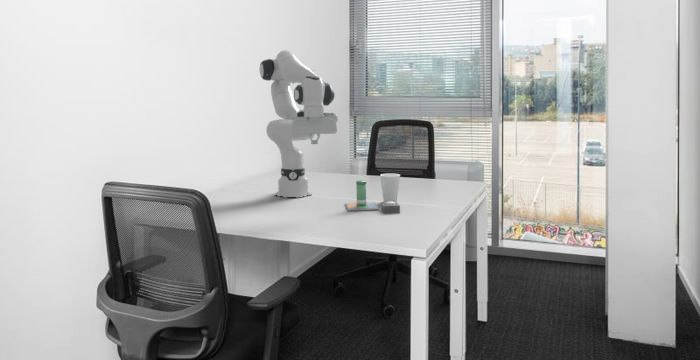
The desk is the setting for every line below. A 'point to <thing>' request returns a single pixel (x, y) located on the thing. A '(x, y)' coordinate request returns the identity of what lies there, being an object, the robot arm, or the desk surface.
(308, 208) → the desk surface
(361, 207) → the picture board
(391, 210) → the button collar
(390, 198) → the translucent tapered cup
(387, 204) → the button
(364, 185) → the green canister
